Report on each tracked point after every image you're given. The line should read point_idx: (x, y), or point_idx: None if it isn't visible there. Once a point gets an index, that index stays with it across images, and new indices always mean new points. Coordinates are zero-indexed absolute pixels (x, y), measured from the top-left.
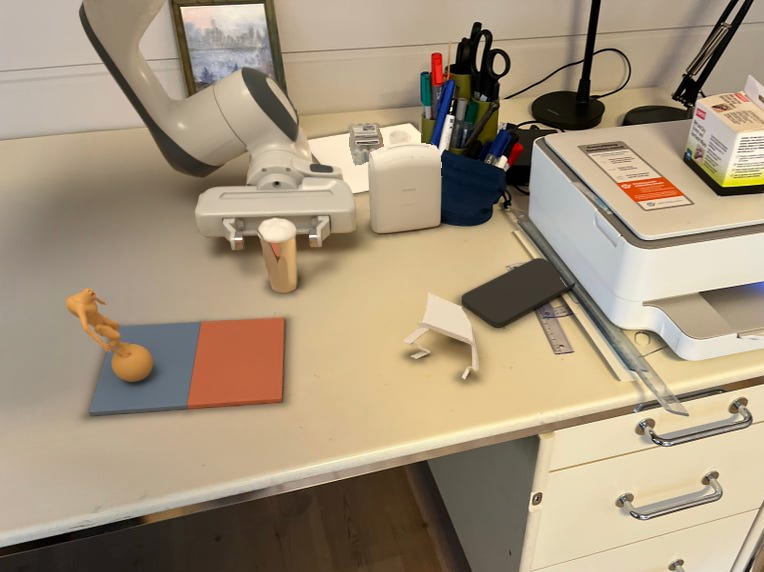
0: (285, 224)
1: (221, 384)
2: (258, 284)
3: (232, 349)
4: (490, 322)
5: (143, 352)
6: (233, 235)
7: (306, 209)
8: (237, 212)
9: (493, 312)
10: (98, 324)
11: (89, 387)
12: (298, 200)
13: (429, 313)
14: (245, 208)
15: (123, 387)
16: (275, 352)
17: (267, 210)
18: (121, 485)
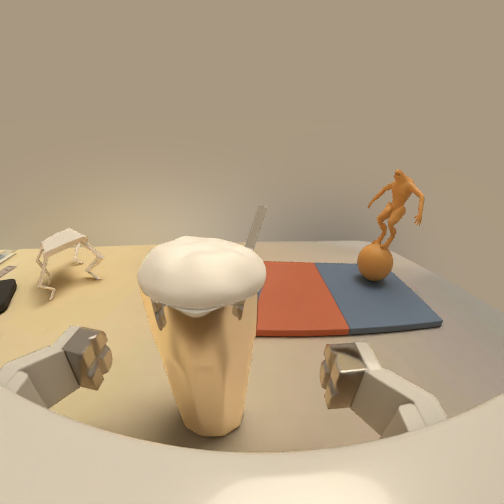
0: (170, 245)
1: (290, 270)
2: (275, 425)
3: (290, 295)
4: (15, 284)
5: (365, 248)
6: (362, 350)
7: (22, 405)
8: (412, 432)
9: (4, 286)
10: (391, 204)
11: (404, 282)
12: (11, 498)
13: (70, 239)
14: (386, 471)
15: None
16: None
17: (230, 464)
18: (330, 245)
